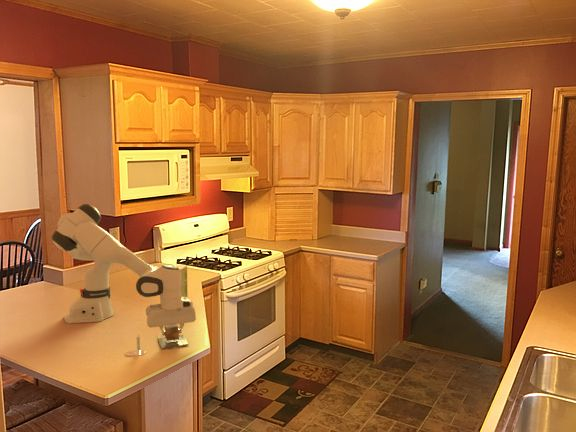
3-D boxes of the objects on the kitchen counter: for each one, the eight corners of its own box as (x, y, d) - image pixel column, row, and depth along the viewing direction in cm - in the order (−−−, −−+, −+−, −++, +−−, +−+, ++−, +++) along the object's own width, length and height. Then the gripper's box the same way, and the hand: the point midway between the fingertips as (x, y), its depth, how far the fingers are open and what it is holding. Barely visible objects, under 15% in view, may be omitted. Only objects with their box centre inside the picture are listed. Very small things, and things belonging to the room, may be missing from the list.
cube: (167, 340, 207) (166, 329, 206) (165, 336, 211) (164, 325, 211) (179, 339, 209) (178, 327, 208) (176, 334, 213) (176, 323, 212)
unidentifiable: (125, 351, 202) (145, 350, 203) (123, 356, 197) (144, 355, 198) (124, 333, 201) (145, 332, 202) (122, 338, 196) (143, 337, 197)
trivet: (161, 349, 203) (161, 347, 203) (157, 340, 213) (157, 338, 213) (188, 345, 208) (188, 343, 208) (183, 336, 218) (183, 334, 218)
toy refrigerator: (183, 308, 254) (182, 269, 251) (170, 307, 256) (168, 268, 253) (189, 303, 262) (188, 265, 259) (176, 302, 264) (175, 264, 261)
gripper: (146, 307, 201) (147, 340, 203) (196, 302, 209) (197, 333, 211) (144, 303, 207) (145, 334, 209) (193, 297, 215) (193, 328, 217)
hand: (171, 334), depth 210 cm, fingers closed on cube, 5 cm apart
